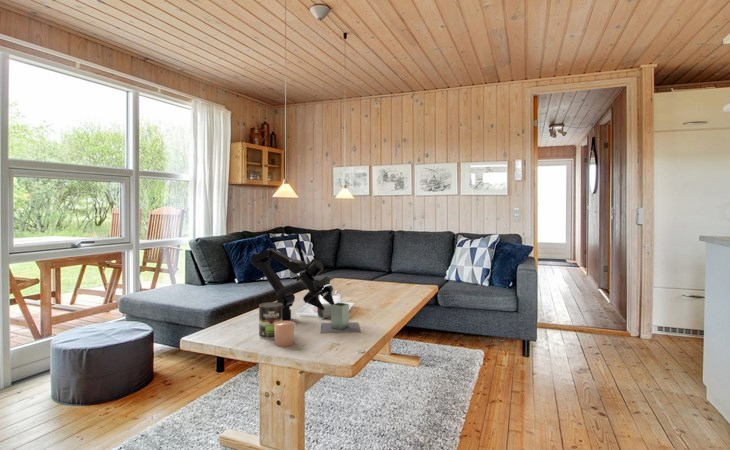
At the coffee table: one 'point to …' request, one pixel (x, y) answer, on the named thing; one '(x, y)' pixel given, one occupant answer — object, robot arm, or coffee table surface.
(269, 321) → the coffee can
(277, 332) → the pink rounded cylinder
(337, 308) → the tin
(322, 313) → the ceramic mug
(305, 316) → the coffee table surface
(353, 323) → the mat
